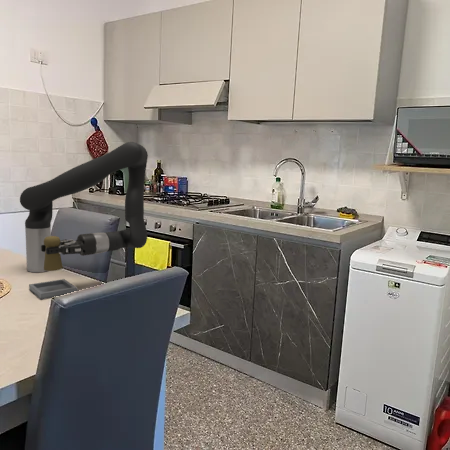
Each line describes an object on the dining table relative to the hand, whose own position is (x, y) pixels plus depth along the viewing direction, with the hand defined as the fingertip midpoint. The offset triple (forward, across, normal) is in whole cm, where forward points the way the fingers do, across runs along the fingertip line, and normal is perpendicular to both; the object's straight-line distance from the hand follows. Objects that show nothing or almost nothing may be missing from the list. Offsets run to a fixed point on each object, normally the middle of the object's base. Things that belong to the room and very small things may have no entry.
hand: (44, 249), depth 146 cm
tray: (-2, 0, +15) cm, 15 cm away
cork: (-3, 0, +7) cm, 8 cm away
